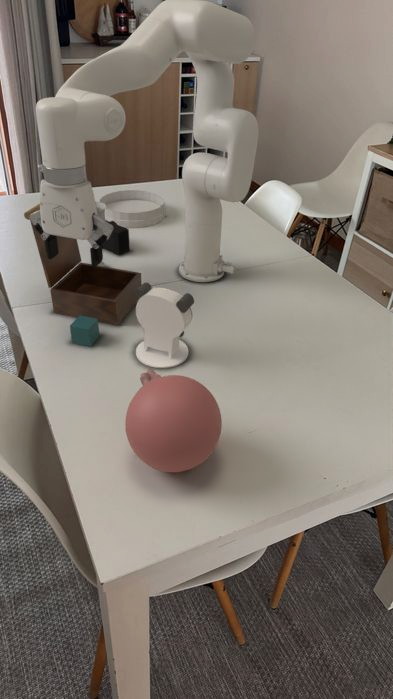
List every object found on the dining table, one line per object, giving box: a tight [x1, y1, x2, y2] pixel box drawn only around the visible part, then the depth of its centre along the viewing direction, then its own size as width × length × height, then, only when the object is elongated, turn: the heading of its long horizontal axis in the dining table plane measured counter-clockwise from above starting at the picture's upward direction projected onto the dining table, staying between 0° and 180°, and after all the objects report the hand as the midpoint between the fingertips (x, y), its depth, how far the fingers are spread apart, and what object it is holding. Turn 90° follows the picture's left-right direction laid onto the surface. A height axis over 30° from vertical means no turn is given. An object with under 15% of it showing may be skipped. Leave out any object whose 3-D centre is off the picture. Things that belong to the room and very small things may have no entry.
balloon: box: [124, 368, 223, 473], centre depth 83 cm, size 15×20×15 cm
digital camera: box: [102, 220, 131, 256], centre depth 150 cm, size 10×5×7 cm, turn 50°
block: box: [69, 315, 100, 347], centre depth 112 cm, size 4×4×4 cm
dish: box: [99, 189, 166, 229], centre depth 172 cm, size 22×22×5 cm
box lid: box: [23, 203, 82, 289], centre depth 119 cm, size 17×15×5 cm
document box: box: [49, 262, 143, 326], centre depth 124 cm, size 17×15×6 cm
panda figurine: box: [135, 282, 195, 369], centre depth 105 cm, size 12×11×15 cm
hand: (74, 260), depth 102 cm, fingers open, 9 cm apart
